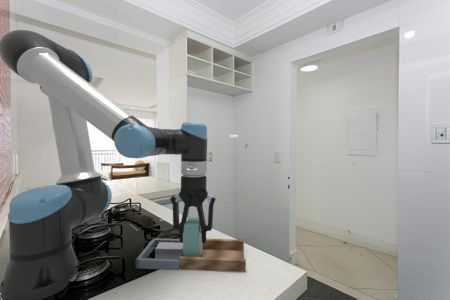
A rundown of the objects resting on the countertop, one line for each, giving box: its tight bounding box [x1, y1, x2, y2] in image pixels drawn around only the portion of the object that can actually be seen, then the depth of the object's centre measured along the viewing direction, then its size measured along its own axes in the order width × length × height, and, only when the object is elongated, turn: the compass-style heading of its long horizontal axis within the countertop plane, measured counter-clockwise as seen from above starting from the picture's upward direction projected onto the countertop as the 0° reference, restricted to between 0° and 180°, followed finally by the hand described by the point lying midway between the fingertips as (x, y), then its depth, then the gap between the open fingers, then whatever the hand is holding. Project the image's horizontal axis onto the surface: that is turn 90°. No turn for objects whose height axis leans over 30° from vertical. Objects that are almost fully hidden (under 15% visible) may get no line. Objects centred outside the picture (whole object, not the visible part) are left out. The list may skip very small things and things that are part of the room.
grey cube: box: [154, 242, 172, 259], centre depth 64 cm, size 4×4×4 cm
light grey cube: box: [168, 242, 184, 260], centre depth 64 cm, size 4×4×4 cm
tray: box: [135, 237, 183, 271], centre depth 64 cm, size 12×13×4 cm
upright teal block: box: [184, 216, 201, 257], centre depth 64 cm, size 4×7×10 cm, turn 178°
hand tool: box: [124, 210, 155, 228], centre depth 92 cm, size 19×4×5 cm, turn 51°
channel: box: [179, 238, 247, 273], centre depth 64 cm, size 18×12×4 cm
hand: (192, 252), depth 64 cm, fingers closed on upright teal block, 4 cm apart
